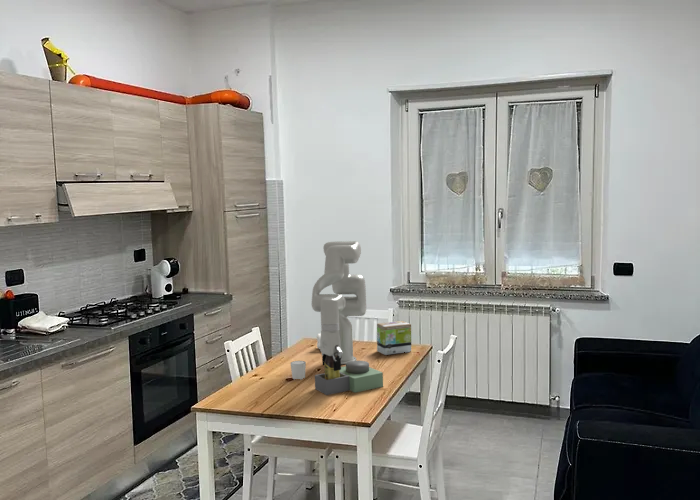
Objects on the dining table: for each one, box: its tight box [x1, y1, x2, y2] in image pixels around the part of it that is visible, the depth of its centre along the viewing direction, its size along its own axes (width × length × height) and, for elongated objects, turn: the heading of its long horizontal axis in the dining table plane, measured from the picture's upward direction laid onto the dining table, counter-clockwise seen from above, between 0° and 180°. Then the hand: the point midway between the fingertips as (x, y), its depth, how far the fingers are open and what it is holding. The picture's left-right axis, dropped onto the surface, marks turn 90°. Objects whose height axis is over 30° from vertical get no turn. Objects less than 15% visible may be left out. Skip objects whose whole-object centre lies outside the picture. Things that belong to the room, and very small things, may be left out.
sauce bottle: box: [323, 353, 340, 380], centre depth 268 cm, size 6×6×20 cm
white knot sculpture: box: [316, 332, 321, 350], centre depth 337 cm, size 11×12×9 cm
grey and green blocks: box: [314, 360, 384, 396], centre depth 273 cm, size 18×25×9 cm
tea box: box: [376, 320, 412, 356], centre depth 328 cm, size 15×10×15 cm, turn 114°
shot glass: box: [289, 360, 307, 380], centre depth 288 cm, size 7×7×7 cm
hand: (331, 367), depth 269 cm, fingers open, 9 cm apart
